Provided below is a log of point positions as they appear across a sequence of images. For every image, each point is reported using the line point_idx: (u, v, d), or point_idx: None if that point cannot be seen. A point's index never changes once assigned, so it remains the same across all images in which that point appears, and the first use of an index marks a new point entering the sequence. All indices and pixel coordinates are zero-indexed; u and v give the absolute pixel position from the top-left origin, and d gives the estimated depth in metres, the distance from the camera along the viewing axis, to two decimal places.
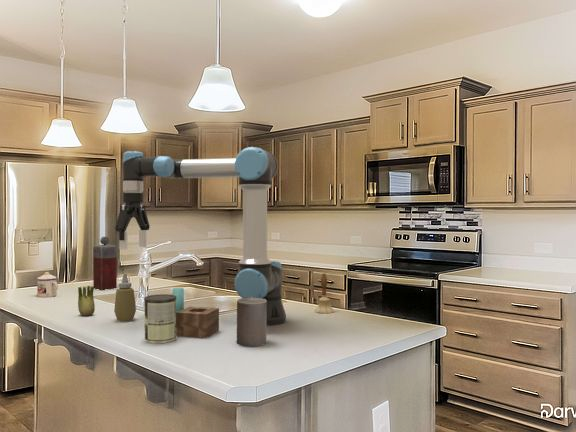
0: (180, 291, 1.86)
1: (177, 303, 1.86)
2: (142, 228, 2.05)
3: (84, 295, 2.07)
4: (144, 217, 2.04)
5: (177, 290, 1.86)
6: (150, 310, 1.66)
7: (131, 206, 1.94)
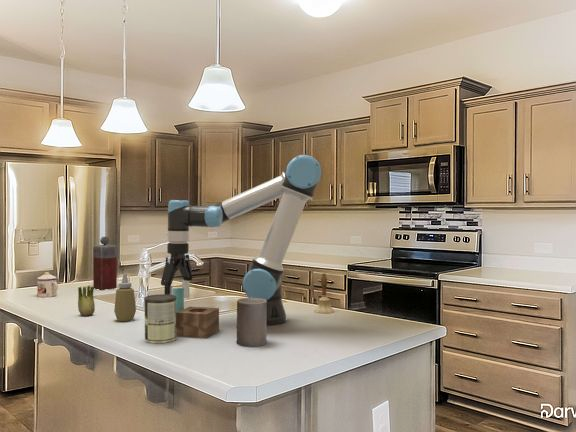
0: (180, 291, 1.86)
1: (177, 303, 1.86)
2: (185, 278, 1.95)
3: (84, 295, 2.07)
4: (187, 267, 1.95)
5: (177, 290, 1.86)
6: (150, 310, 1.66)
7: (176, 258, 1.85)
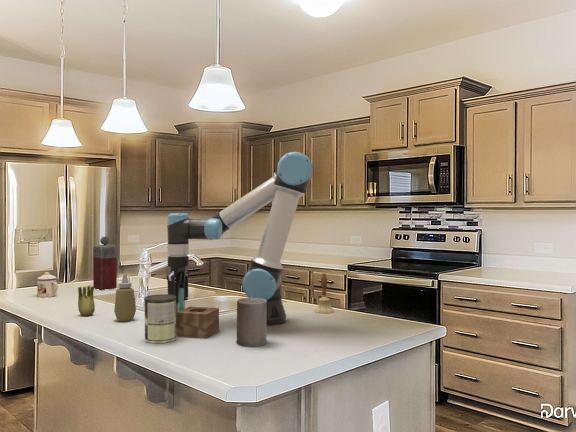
0: (180, 291, 1.86)
1: None
2: None
3: (84, 295, 2.07)
4: (185, 284, 1.92)
5: None
6: (150, 310, 1.66)
7: (177, 271, 1.85)
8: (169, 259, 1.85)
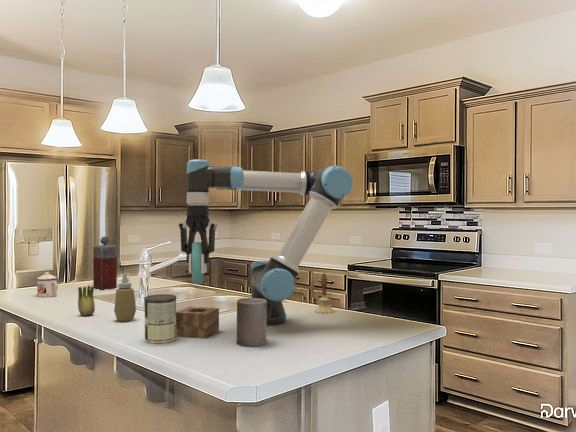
0: (192, 244, 1.77)
1: None
2: None
3: (84, 295, 2.07)
4: None
5: None
6: (150, 310, 1.66)
7: (188, 220, 1.78)
8: None
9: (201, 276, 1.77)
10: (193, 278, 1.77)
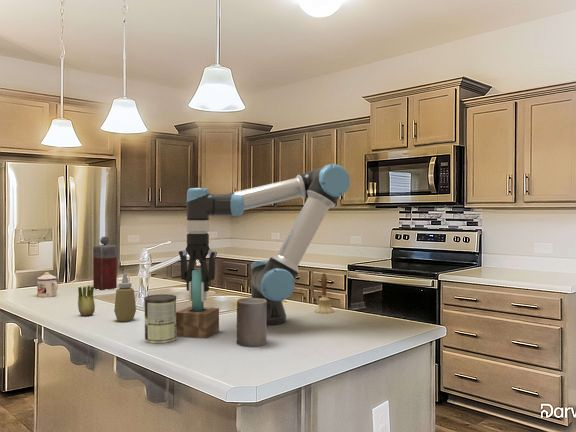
0: (192, 272, 1.77)
1: None
2: None
3: (84, 295, 2.07)
4: None
5: None
6: (150, 310, 1.66)
7: (188, 248, 1.78)
8: None
9: (201, 304, 1.77)
10: (193, 306, 1.77)
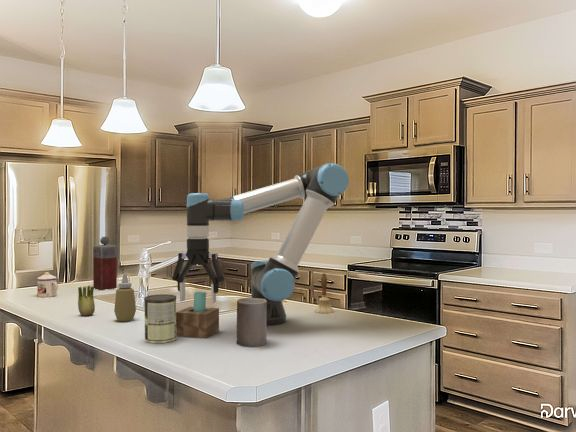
0: (194, 295, 1.77)
1: None
2: None
3: (84, 295, 2.07)
4: None
5: (194, 293, 1.78)
6: (150, 310, 1.66)
7: (188, 253, 1.78)
8: None
9: None
10: None
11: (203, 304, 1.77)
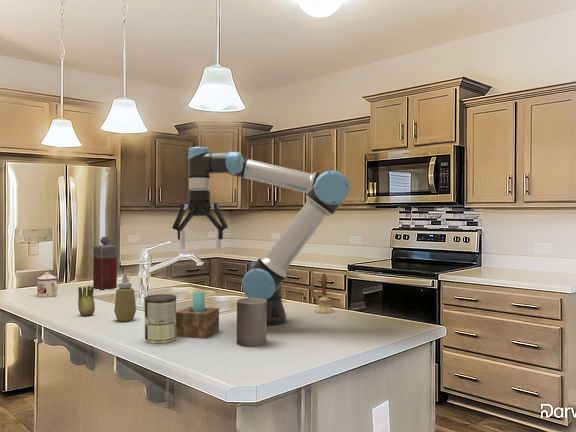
0: (193, 295, 1.77)
1: None
2: None
3: (84, 295, 2.07)
4: None
5: None
6: (150, 310, 1.66)
7: (190, 205, 1.87)
8: None
9: None
10: None
11: (202, 304, 1.77)
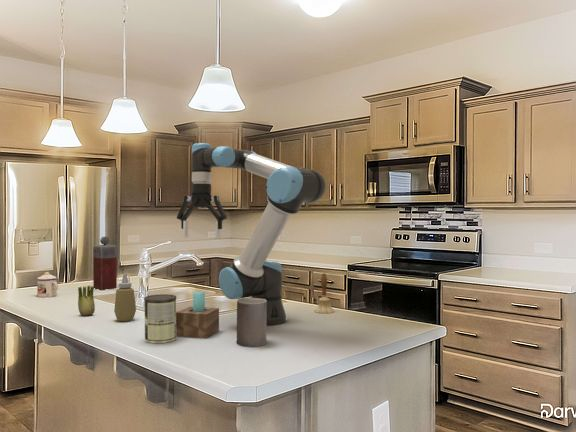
0: (193, 295, 1.77)
1: (193, 307, 1.78)
2: None
3: (84, 295, 2.07)
4: None
5: (193, 293, 1.78)
6: (150, 310, 1.66)
7: (193, 197, 2.02)
8: None
9: None
10: None
11: (202, 304, 1.77)
